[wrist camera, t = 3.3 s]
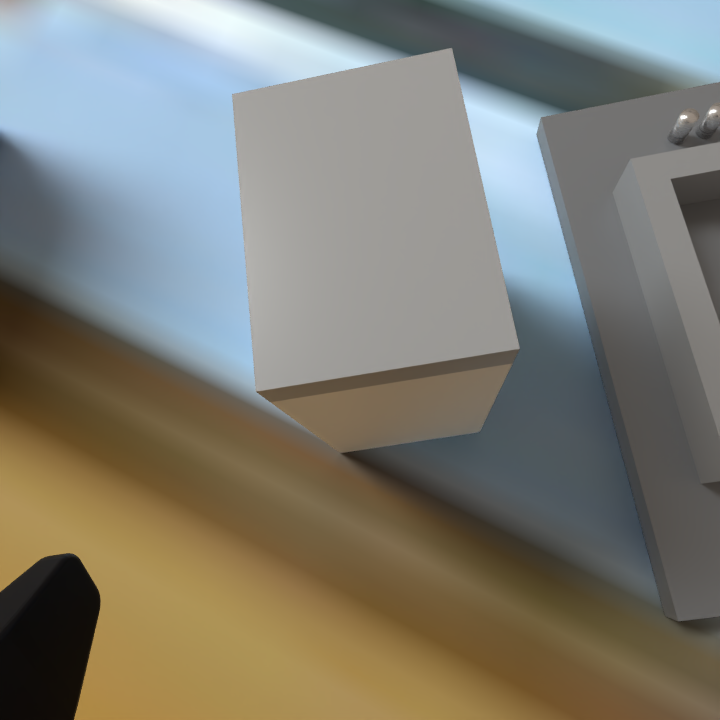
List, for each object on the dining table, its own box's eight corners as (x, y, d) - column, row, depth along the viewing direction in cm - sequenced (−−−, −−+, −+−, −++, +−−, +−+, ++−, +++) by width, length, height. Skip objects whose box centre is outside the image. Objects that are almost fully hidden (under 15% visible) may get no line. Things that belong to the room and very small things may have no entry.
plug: (340, 453, 20) (255, 391, 11) (319, 277, 22) (232, 94, 13) (479, 432, 20) (519, 348, 10) (444, 254, 22) (452, 48, 12)
